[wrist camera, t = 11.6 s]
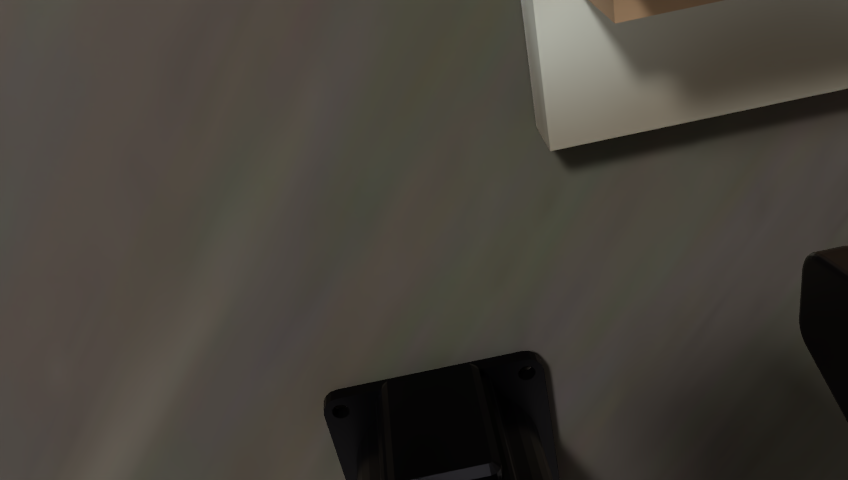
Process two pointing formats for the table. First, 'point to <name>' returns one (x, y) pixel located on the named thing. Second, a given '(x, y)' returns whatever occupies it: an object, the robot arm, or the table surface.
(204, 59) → the table surface
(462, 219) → the table surface
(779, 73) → the ridge stand
